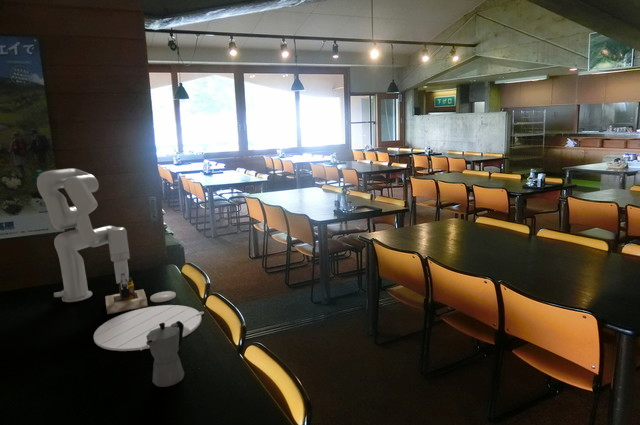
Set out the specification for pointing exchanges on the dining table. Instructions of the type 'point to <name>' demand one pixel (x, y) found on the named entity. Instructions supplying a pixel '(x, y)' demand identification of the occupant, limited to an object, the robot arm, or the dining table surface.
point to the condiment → (131, 290)
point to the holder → (125, 302)
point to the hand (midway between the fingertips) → (125, 294)
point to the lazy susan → (143, 326)
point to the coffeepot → (166, 354)
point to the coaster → (163, 296)
